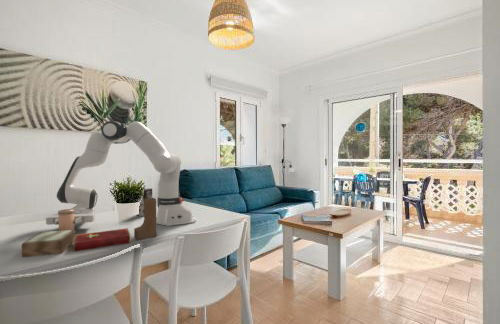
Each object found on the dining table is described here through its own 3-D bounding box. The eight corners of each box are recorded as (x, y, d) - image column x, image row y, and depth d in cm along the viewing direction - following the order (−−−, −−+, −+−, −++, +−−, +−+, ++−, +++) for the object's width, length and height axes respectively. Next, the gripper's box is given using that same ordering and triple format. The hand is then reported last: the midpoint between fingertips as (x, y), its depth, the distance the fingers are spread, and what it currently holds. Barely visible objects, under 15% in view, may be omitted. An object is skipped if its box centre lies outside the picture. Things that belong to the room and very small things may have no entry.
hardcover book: (130, 244, 116) (130, 234, 116) (73, 252, 105) (72, 242, 105) (127, 236, 126) (127, 227, 126) (75, 243, 116) (75, 234, 116)
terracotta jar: (76, 233, 129) (76, 208, 128) (71, 237, 123) (71, 211, 122) (61, 234, 127) (61, 209, 127) (55, 238, 121) (55, 212, 121)
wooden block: (136, 240, 119) (136, 200, 118) (134, 237, 123) (133, 199, 122) (156, 236, 125) (156, 198, 124) (153, 234, 128) (153, 197, 128)
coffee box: (144, 216, 163) (144, 190, 163) (135, 215, 164) (135, 189, 164) (152, 212, 172) (152, 188, 171) (144, 212, 173) (143, 188, 173)
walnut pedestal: (75, 240, 118) (75, 229, 118) (61, 253, 103) (61, 240, 103) (40, 243, 114) (40, 231, 114) (22, 256, 100) (21, 243, 99)
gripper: (52, 210, 134) (39, 217, 121) (97, 208, 140) (89, 214, 127) (52, 222, 134) (39, 230, 121) (97, 220, 140) (90, 227, 127)
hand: (65, 222), depth 124 cm, fingers closed on terracotta jar, 6 cm apart
